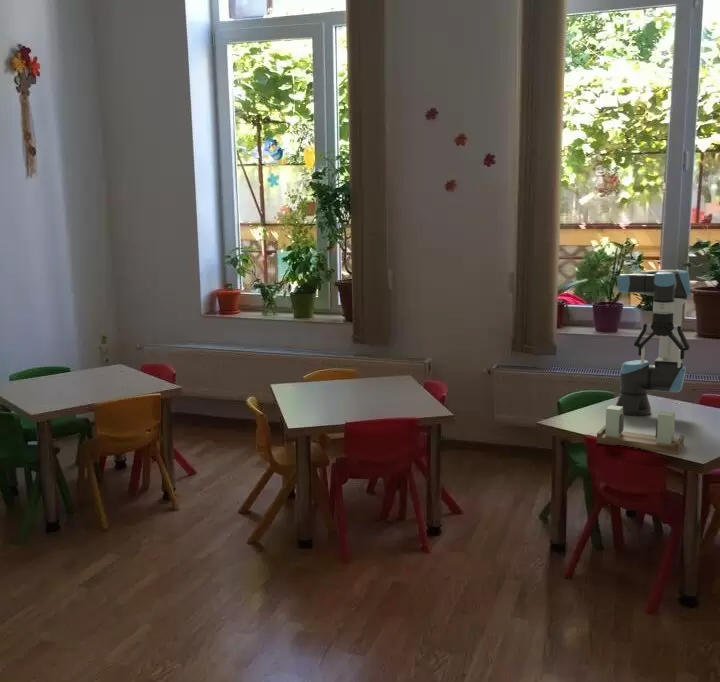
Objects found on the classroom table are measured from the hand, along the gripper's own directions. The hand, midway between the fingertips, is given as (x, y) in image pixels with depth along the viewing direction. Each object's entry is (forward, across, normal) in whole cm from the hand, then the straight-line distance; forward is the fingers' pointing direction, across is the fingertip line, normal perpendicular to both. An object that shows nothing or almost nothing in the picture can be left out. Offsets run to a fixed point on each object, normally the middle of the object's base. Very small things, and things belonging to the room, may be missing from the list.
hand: (660, 365), depth 297 cm
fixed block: (+26, -14, -13) cm, 33 cm away
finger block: (+26, +5, -13) cm, 30 cm away
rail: (+29, -4, -13) cm, 32 cm away
